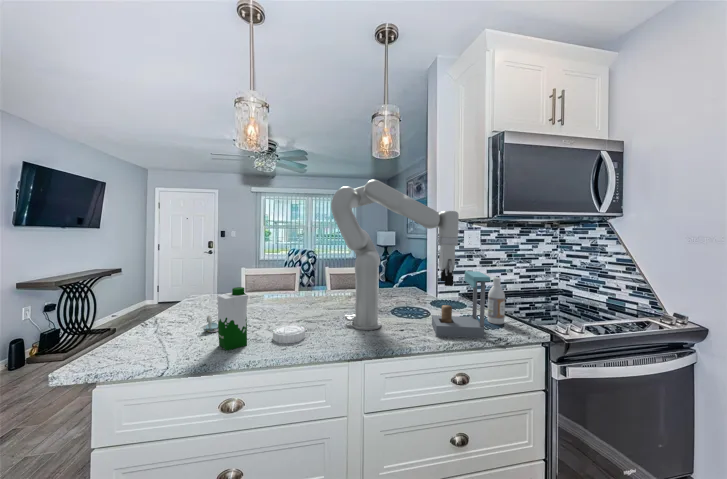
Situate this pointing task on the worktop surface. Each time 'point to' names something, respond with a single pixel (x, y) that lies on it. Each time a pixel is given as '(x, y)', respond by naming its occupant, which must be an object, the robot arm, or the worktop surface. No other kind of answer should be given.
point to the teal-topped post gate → (472, 279)
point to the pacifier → (211, 325)
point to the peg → (446, 314)
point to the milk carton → (232, 319)
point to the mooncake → (289, 334)
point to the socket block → (458, 327)
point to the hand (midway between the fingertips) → (446, 283)
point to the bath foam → (496, 303)
